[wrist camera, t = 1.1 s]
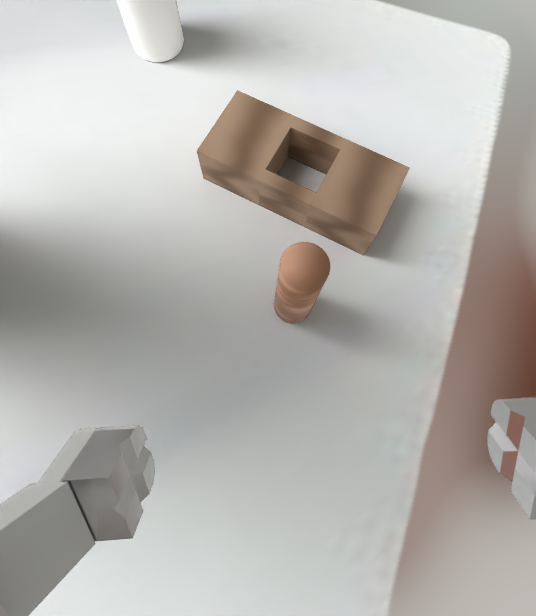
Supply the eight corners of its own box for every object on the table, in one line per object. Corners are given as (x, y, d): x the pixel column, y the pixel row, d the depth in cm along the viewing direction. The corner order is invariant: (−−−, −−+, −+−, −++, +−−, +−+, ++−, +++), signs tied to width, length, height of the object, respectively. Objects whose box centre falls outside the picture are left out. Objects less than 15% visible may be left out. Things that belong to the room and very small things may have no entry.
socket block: (203, 178, 45) (196, 150, 41) (239, 122, 48) (237, 90, 43) (363, 255, 43) (376, 235, 38) (393, 193, 45) (409, 167, 41)
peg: (267, 312, 41) (270, 275, 30) (284, 281, 42) (293, 234, 31) (300, 329, 41) (316, 298, 29) (316, 298, 42) (338, 255, 30)
